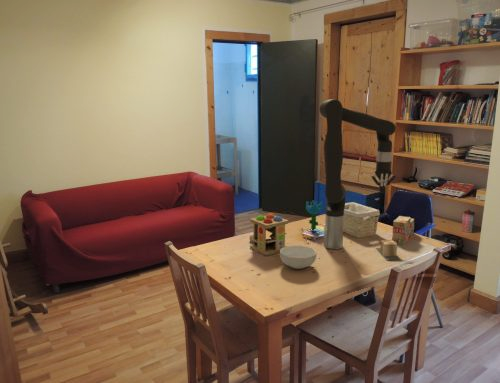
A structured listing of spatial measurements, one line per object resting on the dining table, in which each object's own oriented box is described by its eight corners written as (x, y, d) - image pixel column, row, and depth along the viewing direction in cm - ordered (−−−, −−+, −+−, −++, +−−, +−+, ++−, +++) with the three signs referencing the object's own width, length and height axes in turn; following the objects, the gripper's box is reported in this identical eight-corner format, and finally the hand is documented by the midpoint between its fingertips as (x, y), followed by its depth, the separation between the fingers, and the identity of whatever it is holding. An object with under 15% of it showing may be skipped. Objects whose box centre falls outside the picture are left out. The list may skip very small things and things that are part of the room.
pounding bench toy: (240, 243, 223) (240, 211, 220) (262, 238, 231) (262, 207, 227) (266, 256, 205) (266, 221, 201) (288, 250, 213) (288, 216, 209)
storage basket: (330, 228, 249) (331, 204, 246) (352, 224, 256) (353, 201, 253) (356, 239, 228) (358, 213, 225) (379, 235, 235) (381, 210, 232)
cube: (380, 251, 208) (384, 256, 203) (380, 240, 207) (384, 244, 201) (392, 251, 208) (396, 255, 203) (392, 240, 207) (397, 244, 201)
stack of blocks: (402, 232, 240) (403, 212, 237) (413, 234, 236) (415, 213, 233) (391, 242, 222) (393, 220, 220) (403, 245, 219) (405, 222, 216)
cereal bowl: (323, 268, 189) (324, 253, 188) (293, 275, 181) (294, 260, 180) (301, 256, 204) (301, 242, 202) (272, 263, 196) (272, 248, 194)
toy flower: (312, 235, 235) (313, 204, 231) (302, 231, 242) (302, 201, 238) (324, 233, 239) (325, 202, 236) (314, 229, 247) (314, 199, 243)
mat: (387, 260, 197) (387, 260, 197) (375, 248, 214) (375, 248, 214) (401, 260, 197) (401, 260, 197) (389, 248, 214) (389, 247, 214)
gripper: (373, 161, 211) (371, 194, 214) (399, 161, 211) (397, 194, 214) (369, 159, 218) (367, 191, 222) (394, 159, 218) (392, 191, 222)
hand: (382, 192), depth 218 cm, fingers closed
